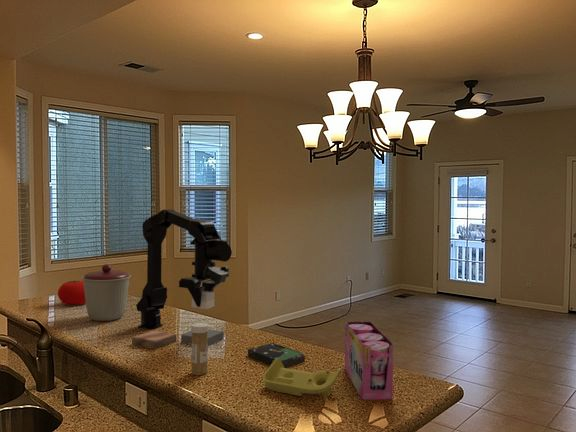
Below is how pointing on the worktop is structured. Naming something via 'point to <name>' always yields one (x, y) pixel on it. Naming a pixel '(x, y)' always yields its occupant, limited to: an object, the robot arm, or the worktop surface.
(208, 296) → the two-plate housing
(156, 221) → the robot arm
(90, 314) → the canister
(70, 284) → the tomato
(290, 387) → the plastic component
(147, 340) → the brown square tray
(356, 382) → the gum box
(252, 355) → the disk drive
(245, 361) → the worktop surface
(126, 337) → the worktop surface
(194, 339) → the sprinkles bottle
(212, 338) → the slate stand
